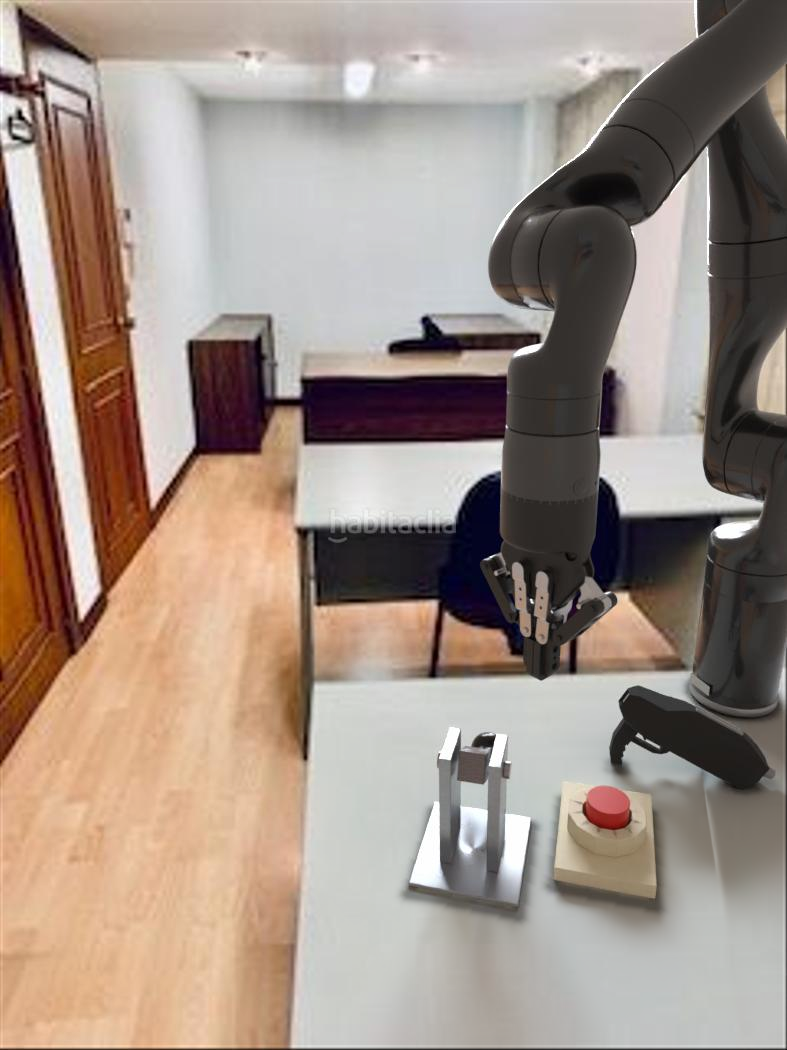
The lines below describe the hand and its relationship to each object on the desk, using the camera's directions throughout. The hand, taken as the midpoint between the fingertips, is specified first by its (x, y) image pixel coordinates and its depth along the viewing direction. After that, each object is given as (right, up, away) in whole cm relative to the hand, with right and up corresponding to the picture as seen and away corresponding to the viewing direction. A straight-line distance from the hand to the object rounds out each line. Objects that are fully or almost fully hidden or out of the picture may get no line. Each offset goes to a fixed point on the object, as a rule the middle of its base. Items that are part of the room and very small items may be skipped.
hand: (540, 674), depth 65 cm
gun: (+17, -12, +10) cm, 23 cm away
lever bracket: (-6, -16, +1) cm, 17 cm away
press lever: (-5, -9, +2) cm, 11 cm away
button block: (+6, -16, +2) cm, 17 cm away
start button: (+6, -12, 0) cm, 14 cm away
